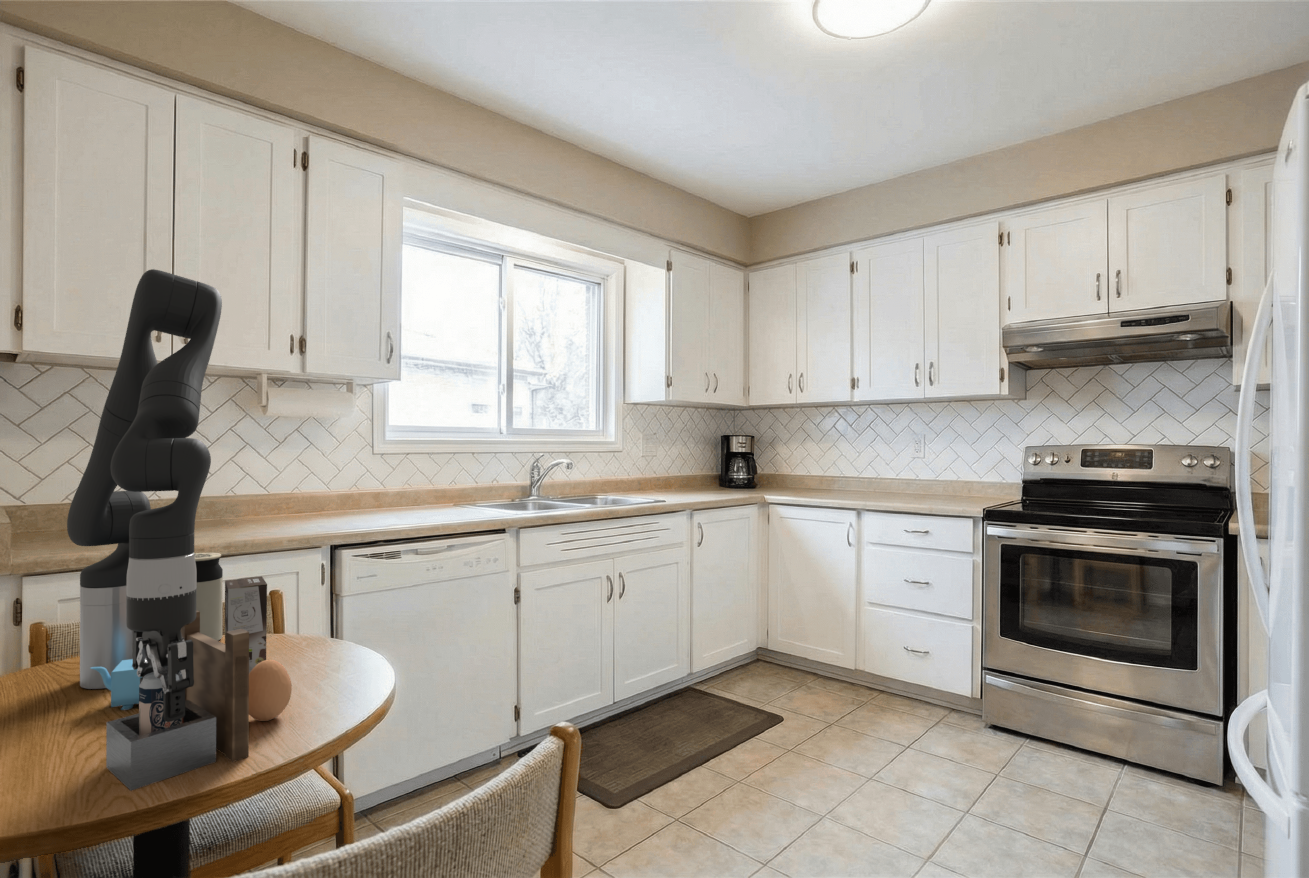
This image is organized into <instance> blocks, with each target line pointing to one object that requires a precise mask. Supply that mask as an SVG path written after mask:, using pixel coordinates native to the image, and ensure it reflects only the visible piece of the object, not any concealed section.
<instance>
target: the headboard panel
mask: <svg viewBox="0 0 1309 878" xmlns="http://www.w3.org/2000/svg"><path fill="white" fill-rule="evenodd" d="M181 634H182V637H183V638H184V641H186V640H192V642H193V667H194V685H193V686H192V687H188V688H186V689H185V701H187V700H189V701H191V702H193V703H194V704H196V705H198V706H199V707H201V708H202V709H204V710H206V711H207V712H209V713H210V714H212V715H214V716H215V717H216V751H219V753H222V754H223V755H224V757H225V758H226V759H227V760H229V761H231V762H232V763H234V762H236V761H240V760H241V759H245V758H248V757H249V749H250V746H249V744H250V743H249V742H250V741H249V740H250V739H249V738H250V737H249V735H250V734H249V733H250V729H249V728H250V727H249V723H250V722H249V721H250V719H249V716H250V715H249V632H248V631H246V630H243V629H237V630H233V631H228V632H225V631H224V642H220V640H218V641H217V640H215V639H212V638H210V637H208V636H206V635H204V634H201V633H200V611H197V610H196V619H195V620H194V621H193V622H192V623H190V624H188V625H185V626H183V627H182V628H181ZM185 672H186V670H185Z"/></svg>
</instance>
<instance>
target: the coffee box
mask: <svg viewBox="0 0 1309 878" xmlns="http://www.w3.org/2000/svg"><path fill="white" fill-rule="evenodd" d="M267 612H268V583H267V582H266V580H265V579H264V577H263V576H254V577H253V576H252V577H243V578H237V579H227V580H224V633H225V632H228V631H233V630H237V629H243V630H246V631H248V632H249V673H250V672H251V670H252V669H253V668H254V667H255V666H256V665H257V664H258V663H260V662H262V661H264V660H267V628H268V626H267V625H268V624H267V623H268V620H267V619H268V618H267V617H268V613H267Z"/></svg>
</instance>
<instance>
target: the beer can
mask: <svg viewBox="0 0 1309 878" xmlns="http://www.w3.org/2000/svg"><path fill="white" fill-rule="evenodd" d="M177 680H179V676H178V675H177V674H176V681H177ZM163 693H164V692H163V687H162V683H161V680H160V679H159V678H156V677H155V674H154V672H152V673H149V674H147V675H145V676H144V677H143V680H142V682H141V684H140V685H139V704H138V713H139V736H141V735H145V734H148V733H152V732H155V731H158V730H162V729H165V728H169V727H172V726H176V725H179V724H182V723H183V719H184V717H183V718H181V719H178V720H174V721H171V722H167V721H165V720H164V719H163Z"/></svg>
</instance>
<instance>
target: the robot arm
mask: <svg viewBox="0 0 1309 878" xmlns="http://www.w3.org/2000/svg"><path fill="white" fill-rule="evenodd" d="M222 301H223V300H222V295H221V292H220V291H219V290H218V288H216V287H214V286H213V285H210V284H207V283H205V282H204V283H203V282H201V281H198V280H197V281H196V280H194V279H190V278H187V277H184V276H180V275H177V274H174V273H171V272H167V271H163V270H159V269H155V268H153V269H149V270H148V269H147V270H146V271H145V272H144V273H143V274H142V276H141V277H140V279H139V280H138V284H137V286H136V289H135V292H134V295H133V299H132V304H131V309H130V313H129V319H128V322H127V327H126V331H125V336H124V340H123V345H122V350H121V354H120V359H119V361H118V366H117V368H116V371H115V374H114V377H113V381H112V382H111V385H110V389H109V391H108V395H107V397H106V399H105V403H104V406H103V410H102V413H101V417H100V420H99V424H98V429H97V433H96V435H95V440H94V444H93V447H92V451H91V453H90V456H89V460H88V463H87V464H86V465H87V466H86V467H85V470H84V472H83V475H82V477H81V479H80V482H79V484H78V486H77V488H76V490H75V493H74V495H73V497H72V501H71V503H70V506H69V510H68V514H67V520H66V529H67V535H68V537H69V540H70V541H71V542H72V543H73V544H75V545H77V546H80V547H99V546H109V545H117V546H116V549H115V550H114V551H113V552H112V553H110V554H109V555H107V556H106V557H105V558H103V559H101V560H99V561H96V562H95V563H92V564H90V565H88V566H85V567H84V568H83V569H82V570H80V574H79V686H80V687H81V688H82V689H88V690H91V689H92V690H96V689H98V690H99V689H101V690H102V689H107V688H106V686H105V684H104V682H103V679H102V676H101V674H100V673H99V672H98V671H96V670H94V669H91V667H104V668H106V669H107V671H108V673H109V674H110V676H111V672H112V671H113V670H114V669H115V668H116V667H117V665H118V664H119V663H120V662H121V661H122V660H130V659H133V664H132V667H133V669H134V670H135V669H137V675H138V677H142V678H140V684H141V682H142V680H143V677H144V676H145V675H147V674H149V673H152V672H154V674H155V677H156V678H159V679H160V680H161V683H162V687H163V692H164V693H163V719H164V720H165V721H167V722H171V721H174V720H178V719H181V718H183V717H184V716H185V689H186V688H188V687H192V686H193V685H194V667H193V642H192V640H186V641H184V638H183V637H182V634H181V628H182V627H183V626H185V625H188V624H190V623H192V622H193V621H194V620H195V619H196V598H197V570H196V562H195V527H196V526H195V525H196V516H197V515H196V514H197V510H198V505H199V502H200V499H201V495H202V491H203V489H204V488H205V487H204V486H205V484H206V481H207V478H208V475H209V472H210V469H211V463H212V456H211V453H210V451H209V449H208V447H207V445H206V444H205V443H204V442H203V441H201V440H200V439H197V438H192V437H191V438H190V436H192V435H193V434H194V433H195V432H196V431H197V428H198V426H199V423H200V421H199V420H200V413H201V411H200V410H201V398H202V390H203V382H204V378H205V375H206V371H207V369H208V365H209V362H210V361H211V360H210V359H211V355H212V353H213V352H212V351H213V349H214V345H215V342H216V337H217V334H218V328H219V325H220V319H221V315H222V309H223V306H222V305H223V304H222V303H223V302H222ZM154 331H155V332H160V333H164V334H168V335H170V336H171V335H172V336H175V337H178V338H179V337H180V338H183V339H189V340H188V341H187V343H186V344H185V345H183V346H182V347H181V348H180V349H179V350H176V351H175V352H174V353H172V354H171V355H169V356H167V357H166V358H164V359H163V360H161V361H160V362H158V360H157V357H156V354H155V352H154V346H153V342H152V340H153V339H152V333H153V332H154ZM117 487H120V488H121V489H122V490H116V491H115V489H117ZM170 491H171V492H172V491H175V492H177V496H176V498H175V500H174V501H173V502H172V503H170V504H168V505H165V506H161V507H157V508H152V507H151V503H150V500H149V498H148V496H147V495H146V494H145V493H144V492H148V493H149V492H170ZM185 670H186V672H185ZM176 674H177V675H178V676H179V680H177V681H176Z"/></svg>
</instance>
